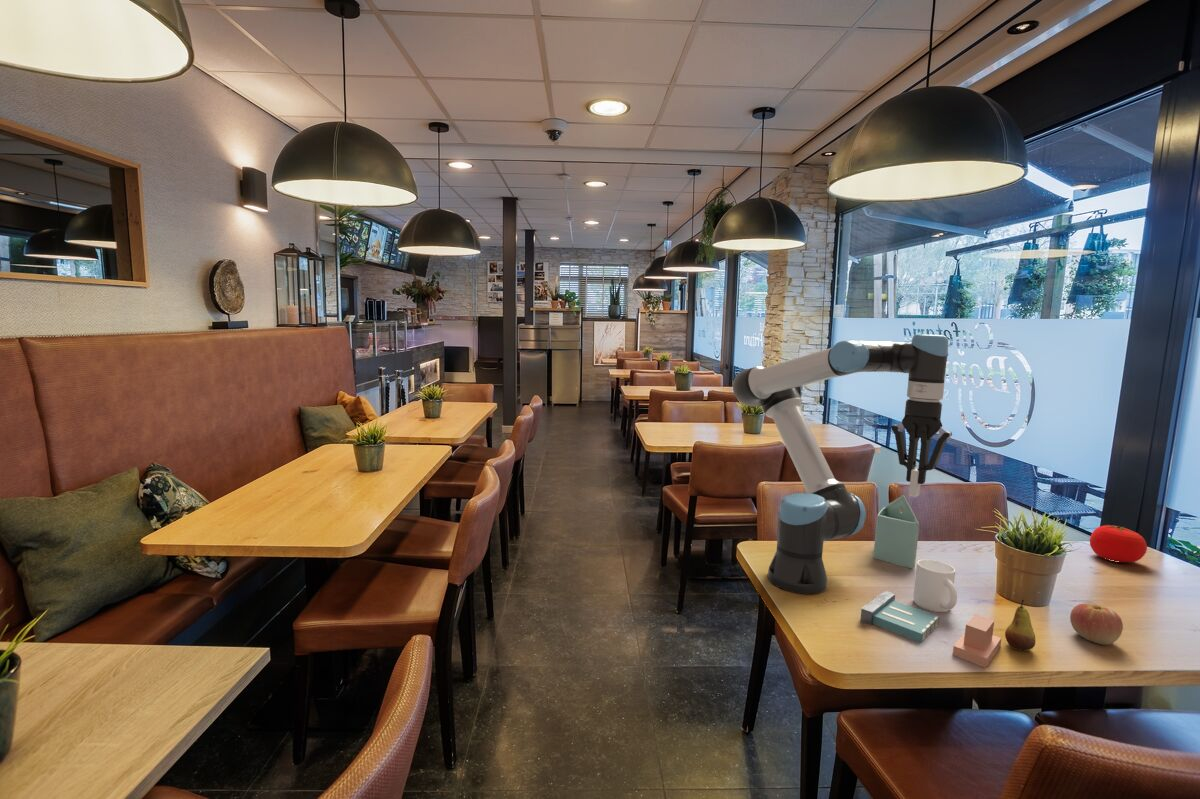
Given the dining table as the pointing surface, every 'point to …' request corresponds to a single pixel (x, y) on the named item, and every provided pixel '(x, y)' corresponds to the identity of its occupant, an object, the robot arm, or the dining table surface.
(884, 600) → the grey end rail
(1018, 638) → the fruit
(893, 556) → the pale teal hollow box
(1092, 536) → the tomato
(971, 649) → the stub
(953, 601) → the mug
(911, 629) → the striped teal tile
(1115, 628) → the apple
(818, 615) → the dining table surface
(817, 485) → the robot arm
